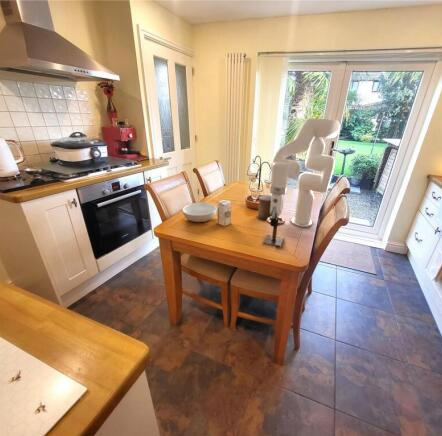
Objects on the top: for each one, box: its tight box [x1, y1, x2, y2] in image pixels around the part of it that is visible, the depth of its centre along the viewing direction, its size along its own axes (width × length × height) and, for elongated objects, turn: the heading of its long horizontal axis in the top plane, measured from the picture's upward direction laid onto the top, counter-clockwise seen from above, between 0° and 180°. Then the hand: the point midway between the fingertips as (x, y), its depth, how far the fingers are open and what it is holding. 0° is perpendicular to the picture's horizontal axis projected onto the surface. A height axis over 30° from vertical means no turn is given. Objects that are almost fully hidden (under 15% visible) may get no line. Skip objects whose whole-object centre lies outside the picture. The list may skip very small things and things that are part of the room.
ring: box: [265, 216, 286, 227], centre depth 118 cm, size 9×9×2 cm
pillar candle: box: [257, 194, 272, 222], centre depth 148 cm, size 10×10×15 cm
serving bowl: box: [182, 201, 218, 223], centre depth 145 cm, size 21×21×7 cm
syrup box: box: [217, 199, 232, 227], centre depth 137 cm, size 6×6×14 cm
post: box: [263, 226, 284, 249], centre depth 121 cm, size 9×9×13 cm
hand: (274, 225), depth 115 cm, fingers closed on ring, 2 cm apart
